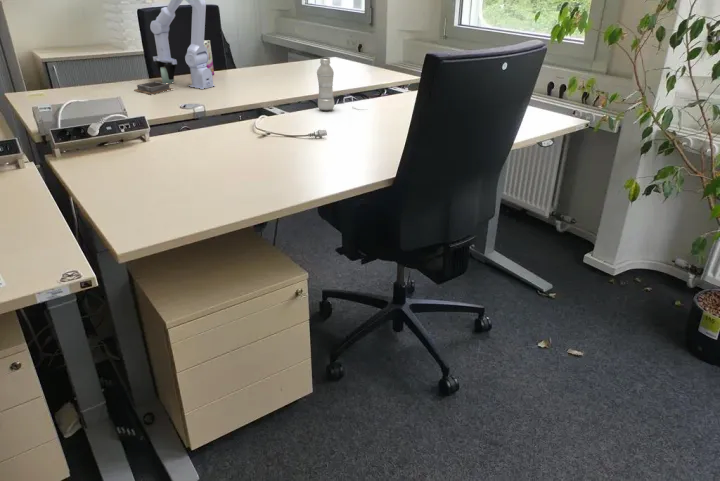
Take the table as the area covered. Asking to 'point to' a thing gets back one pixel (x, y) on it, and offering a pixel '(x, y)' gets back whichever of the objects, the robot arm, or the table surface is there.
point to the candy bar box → (210, 61)
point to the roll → (165, 75)
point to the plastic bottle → (325, 85)
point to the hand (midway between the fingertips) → (167, 78)
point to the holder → (152, 87)
